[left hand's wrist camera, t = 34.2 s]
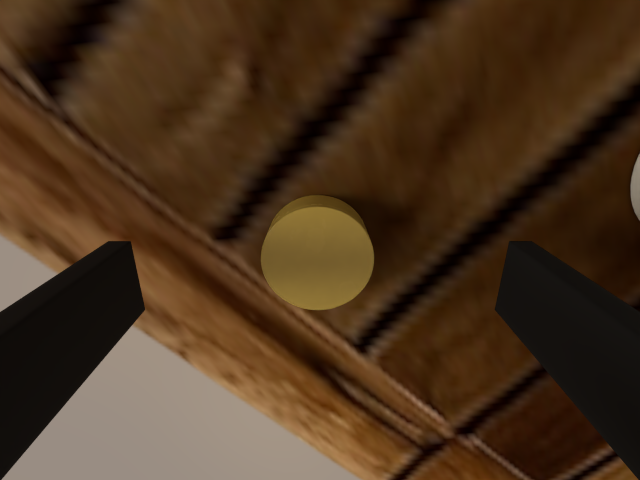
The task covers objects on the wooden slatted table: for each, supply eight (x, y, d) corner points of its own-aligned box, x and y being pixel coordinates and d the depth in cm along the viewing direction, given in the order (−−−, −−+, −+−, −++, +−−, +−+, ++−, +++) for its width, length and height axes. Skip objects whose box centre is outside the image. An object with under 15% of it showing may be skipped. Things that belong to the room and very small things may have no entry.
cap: (381, 210, 15) (390, 224, 13) (350, 298, 17) (354, 320, 15) (280, 182, 15) (275, 192, 13) (257, 275, 16) (250, 296, 15)
